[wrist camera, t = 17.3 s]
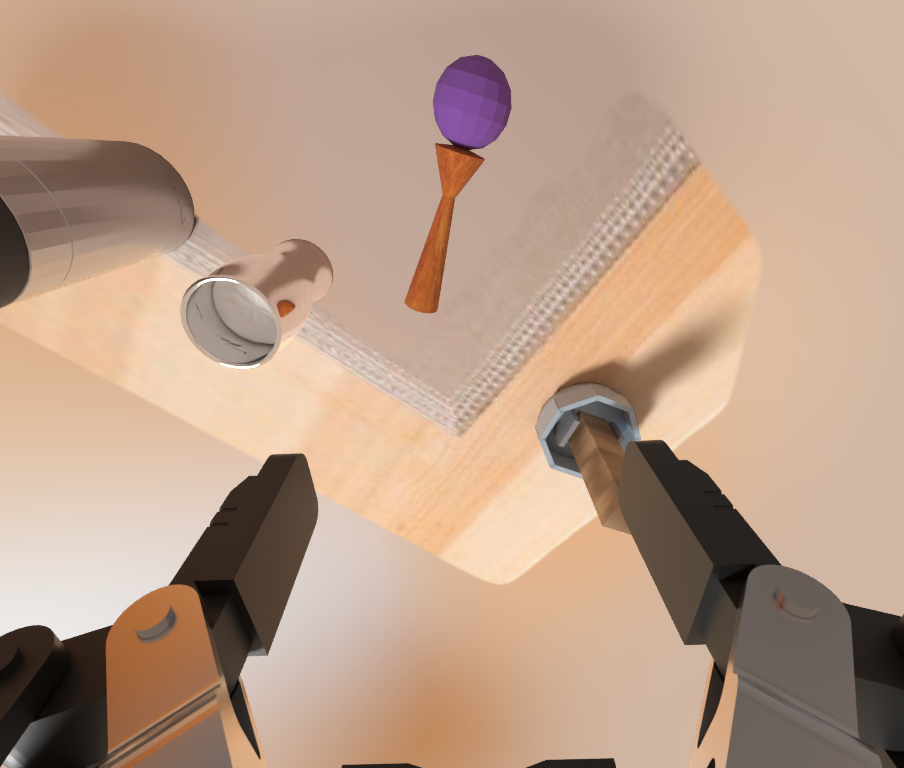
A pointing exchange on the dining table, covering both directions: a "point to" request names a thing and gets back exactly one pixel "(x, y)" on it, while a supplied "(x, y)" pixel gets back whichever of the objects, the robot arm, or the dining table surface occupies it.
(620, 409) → the blue-grey octagonal holder
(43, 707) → the robot arm
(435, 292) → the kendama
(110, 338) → the dining table surface
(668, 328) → the dining table surface
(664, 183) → the dining table surface
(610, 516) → the wooden block
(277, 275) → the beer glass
